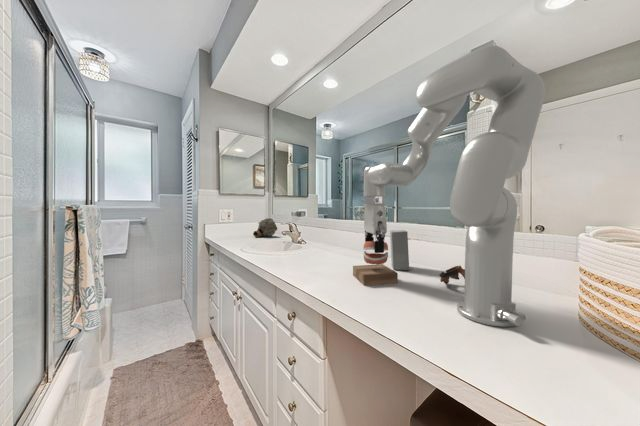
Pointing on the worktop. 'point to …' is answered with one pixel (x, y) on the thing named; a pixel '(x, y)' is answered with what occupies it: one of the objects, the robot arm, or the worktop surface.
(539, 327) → the worktop surface
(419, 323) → the worktop surface
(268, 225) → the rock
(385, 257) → the dentures
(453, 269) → the dark brown jagged part
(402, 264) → the skincare box
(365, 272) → the walnut base
